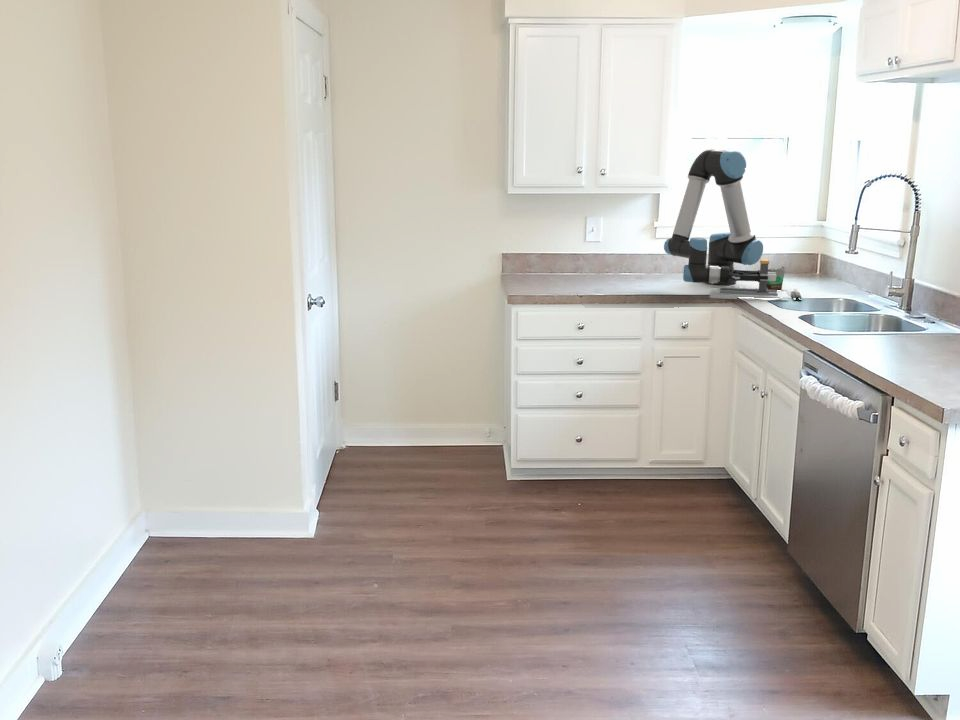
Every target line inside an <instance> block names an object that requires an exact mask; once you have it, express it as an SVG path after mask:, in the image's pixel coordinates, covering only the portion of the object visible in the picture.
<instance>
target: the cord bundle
mask: <svg viewBox="0 0 960 720" xmlns="http://www.w3.org/2000/svg"><path fill="white" fill-rule="evenodd" d="M790 295H791V298H792V297H793V298H797V297H798V298H800V299H801V298H802V296H801V293H800V291H798V289H797V288H794V289H793V290H792V291H790ZM793 298H792V299H793ZM798 298H797V299H798Z"/></svg>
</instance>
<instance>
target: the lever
mask: <svg viewBox="0 0 960 720" xmlns="http://www.w3.org/2000/svg"><path fill="white" fill-rule="evenodd" d="M759 263H760V266H759V270H760V274H768V269H769V265H770V259H767V258H760V259H759ZM766 287H767V281H761V280H760V282H758V288H755V289H756V292H760V293H769V291H768V289H766Z"/></svg>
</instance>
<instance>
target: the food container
mask: <svg viewBox="0 0 960 720" xmlns="http://www.w3.org/2000/svg"><path fill="white" fill-rule="evenodd" d="M768 272H776V281H767V287H766V289H768V290H781V291H782V289H783V282H784V276H785V274H786V273H787V270H786V267H785V266H781V268H770V269H769V268H768Z"/></svg>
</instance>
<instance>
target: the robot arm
mask: <svg viewBox="0 0 960 720" xmlns="http://www.w3.org/2000/svg"><path fill="white" fill-rule="evenodd" d="M746 168H747V160H746V157H745V156H744V154H743V153H742V152H740V151H738V150H735V149H729V148H728V149H717V148H708V149H706V150H703V151H702V152H701V153H700V154H699V155H698V156H697V157H696V158H695V159H694V161H693V163H692V164H691V166H690V169H689V171H688V174H687V179H688V183H687V185H686V186H687V187H686V190H685V193H684V196H683V200H682V202H681V205H680V209H679V212H678V215H677V219H676V222H675V226H674V229H673V233H672V236H671V237H669V238H667V239H666V241H664V244H663V249H664V252H665V253H666V254H667V255H671V256H673V257H681V258H685V259H688V264H685V265H684V266H683V273H682V275H683V276H682V279H683V282H686V283H700V284H701V283H703V284H704V283H706V284H708V285H718V286H720V285H721V286H727V285H735V284H736V283H737V282H758V283H759V282H760V280H761V281H776V272H768V274H760V269H758V270H742V269H735V268H734V267H735V266H734V264H735V263H736V264H742V265H743V266H753V265H755V264H756V263H758V262H760V259H762V258H761V257H762V256H763V253H764V244H763V242H762V241H761V240H760V239H757V237H756V233H755V231H753V230H752V229H751V227H750V222H749V217H748V212H747V207H746V203H745V198H744V193H743V189H742V183H741V181H742V180H743V178H744V174H745V172H746ZM712 177H713V178H714V181H715V184H716V186H718V187H720V192H721V197H722V201H723V204H724V209H725V214H726V218H727V223H728V227H729V232H719V233H712V234H711V235H710V236H709V241H708V240H707V238H705V237H691V233H692V230H693V227H694V224H695V221H696V218H697V214H698V211H699V207H700V205H701V201H702V199H703V195H704V192H705V191H704V190H705V188H706V185H707V184H708V183H709V182H710V181H711V178H712ZM690 237H691V238H690ZM707 253H708V254H707ZM707 255H708V256H707ZM707 257H708V258H707Z"/></svg>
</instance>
